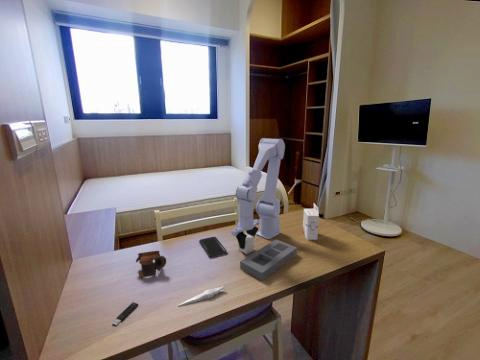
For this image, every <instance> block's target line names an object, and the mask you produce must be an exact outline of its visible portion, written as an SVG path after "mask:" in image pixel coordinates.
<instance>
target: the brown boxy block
mask: <svg viewBox="0 0 480 360" xmlns="http://www.w3.org/2000/svg"><path fill="white" fill-rule="evenodd" d="M153 261H154V262H153ZM138 262H139V265H140V266H141V269H140V270H138V271H137V274H138V277H139V278H145V277H147V278H148V277H154V276H156V275H157V271H158V272H160V271H161V270H162V269H163V268H165V267H166V265H167V258H166V257H165V256H164V255H161V254H160V250H150V251H145V252H139V253H138V254H137V258H136V259H135V263H138Z"/></svg>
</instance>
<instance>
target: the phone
mask: <svg viewBox="0 0 480 360" xmlns="http://www.w3.org/2000/svg"><path fill="white" fill-rule="evenodd" d="M198 242H199V245H200V246H201V248H202V249H203V250H204V252H205V255H206V256H207V257H208V258H209V259H212V258H216V257H220V256H225V255H226V254H228V251H227V249H226V248H225V247H224V246H223V244H222V243H221V242H220V240H219V239H218V238H217V237H216V236H211V237H206V238H201V239H199V241H198Z"/></svg>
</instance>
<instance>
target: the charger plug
mask: <svg viewBox="0 0 480 360" xmlns="http://www.w3.org/2000/svg"><path fill="white" fill-rule="evenodd" d="M244 234H246V235H247V237H246V240H245V248H244V249H242V248H240V246H239V245H238V251H240V252H242V253H244V254H245V255H248V254H249V253H252V252H253V251H254V249H255V244H254V243H255V242H254V241H255V237H254V236H251V235H249V234H247V232H244Z"/></svg>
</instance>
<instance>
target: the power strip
mask: <svg viewBox="0 0 480 360" xmlns="http://www.w3.org/2000/svg"><path fill="white" fill-rule="evenodd" d="M297 254H298V247H296V246H295V245H292V244H289V243H287V242H283V241H281V240H279V239H274V240H272V241H271V242H269V243H268V244H266V245H265V246H263V247H261V248H260V249H258V250H256V251H255V252H253V253H251V254H249V255H248V256H247V257H244V258H243V259H241V260H240V261H239V269H240V270H242V271H244V272H245V273H247V274H249V275H250V276H253V277H254V278H256V279H258V280H259V281H264V280H265V279H266V278H268V277H269V276H270V275H272V274H273V273H275V271H277V270H279V269H280V268H281V267H282V266H283V265H285V264H287V262H289V261H290V260H291V259H293V258H294V257H296V256H297Z"/></svg>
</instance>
